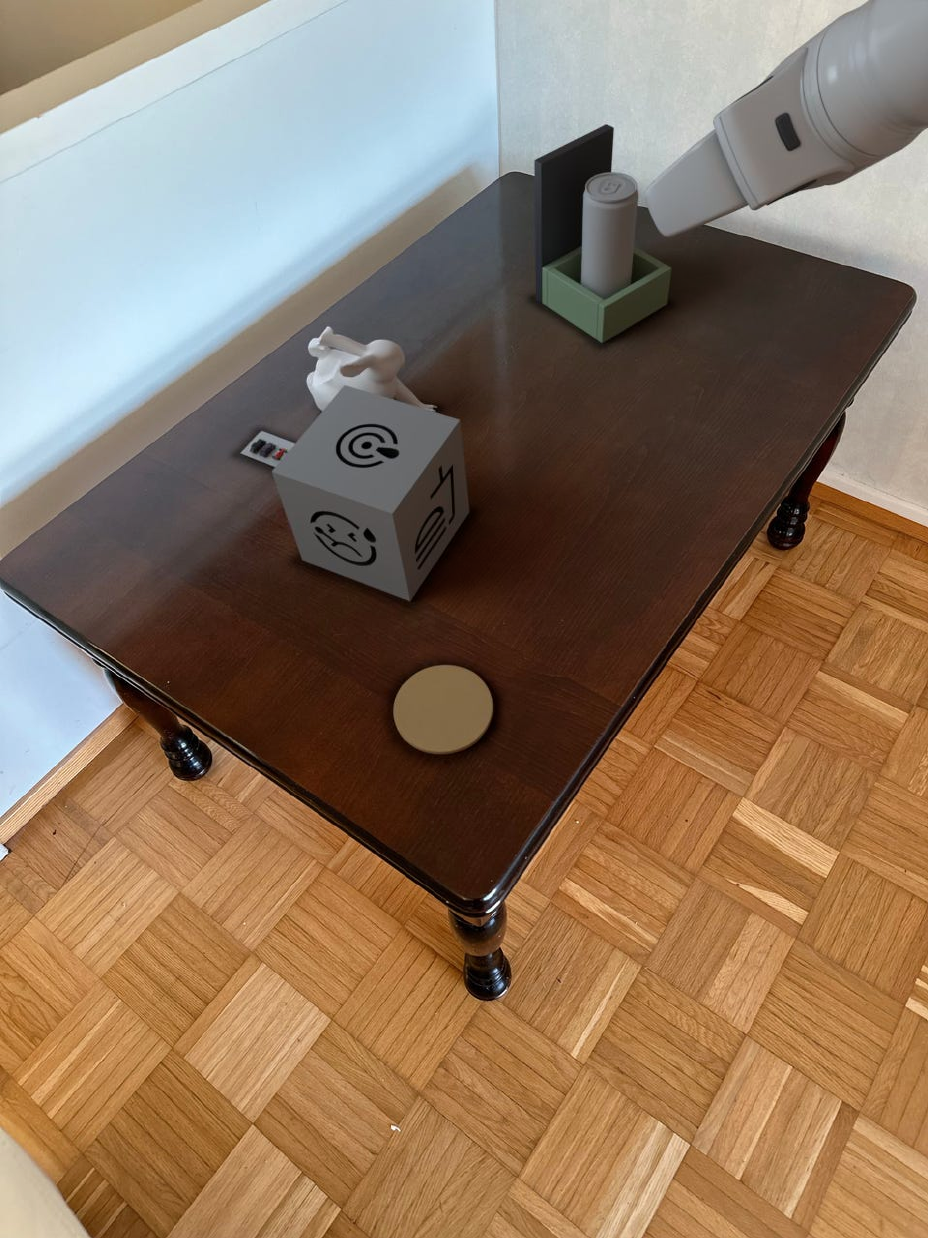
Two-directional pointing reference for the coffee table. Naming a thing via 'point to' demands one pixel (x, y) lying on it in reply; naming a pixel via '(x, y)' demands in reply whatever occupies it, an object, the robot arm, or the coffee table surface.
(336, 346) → the rabbit figurine
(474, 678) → the coaster
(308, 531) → the icon cube
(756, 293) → the coffee table surface
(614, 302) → the stand
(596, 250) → the beverage can
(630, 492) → the coffee table surface
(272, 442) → the toy car tray
